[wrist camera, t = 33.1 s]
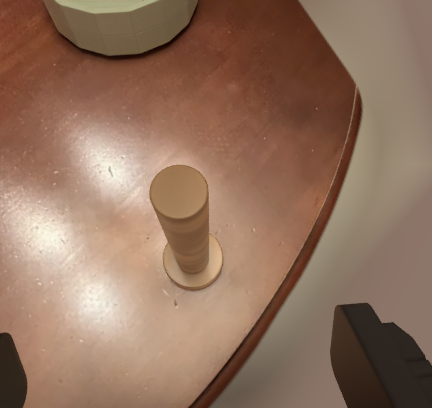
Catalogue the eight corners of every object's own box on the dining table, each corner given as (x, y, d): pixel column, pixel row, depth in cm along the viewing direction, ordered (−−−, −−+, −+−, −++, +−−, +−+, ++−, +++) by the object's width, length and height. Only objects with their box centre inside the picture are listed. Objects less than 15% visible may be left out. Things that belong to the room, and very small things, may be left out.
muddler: (218, 229, 31) (224, 136, 17) (226, 286, 30) (241, 236, 15) (162, 237, 31) (121, 149, 17) (167, 294, 29) (128, 250, 15)
